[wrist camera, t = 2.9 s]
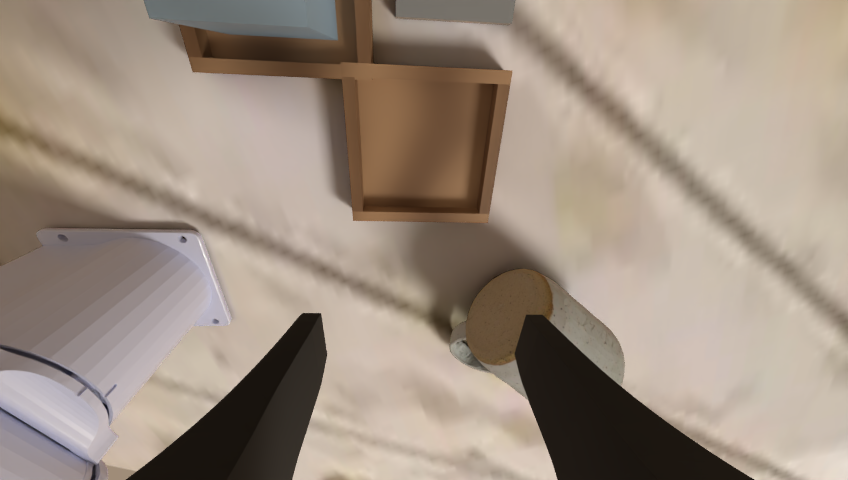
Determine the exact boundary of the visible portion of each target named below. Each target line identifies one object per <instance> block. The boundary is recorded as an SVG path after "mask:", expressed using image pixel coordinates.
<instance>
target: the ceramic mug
mask: <svg viewBox="0 0 848 480" xmlns="http://www.w3.org/2000/svg"><path fill="white" fill-rule="evenodd" d="M526 315H543V316H545V317H546V318H547V319H548V320H549V321H550V322H551V323H552V324H553V325H554V326H555V327H556V328H557V329H558V330H559V331H560V332H561V333H563V334H564V335H565V336H566V337H567V338H568V339H569V340H570V341H571V342H572V343H573V344H574V345H575V346H576V347H577V348H578V349H579V350H580V351H581V352H582V353H584V354H585V355H586V356H587V357H588V358H589V359H590V360H591V361H592V362H593V363H594V364H596V365H597V366H598V367H599V368H600V369H601V370H602V371H603V372H605V373H606V374H607V375H608V376H609V377H610V378H612V379H613V380H614V381H615V382H616V383H617V384H619V385H620V386H621V385H622V382H623V378H624V369H625V362H624V355H623V352H622V348H621V346H620V343H619V341H618V340H617V338H616V337H615V335H614V334H613V333H612V331H611V330H610V329H609V328H608V327H607V326H606V325H604V324H603V323H602V322H601V321H600V320H598V319H597V318H596V317H595V316H594V315H593V314H591V313H590V312H589V311H588V310H587V309H586V308H585V307H584V306H582V305H581V304H580V303H579V302H577V301H576V300H575V299H574V298H573V297H571V296H570V295H569V294H568V293H567V292H566V291H565V290H564V289H563V288H561V287H560V286H559V285H558V284H557V283H556V282H554V281H553V280H551V279H550V278H548V277H546V276H544V275H542V274H540V273H538V272H536V271H533V270H530V269H516V270H511V271H508V272H505V273H503V274H501V275H499V276H497V277H496V278H494V279H493V280H491V281H490V282H489V283H488V284H487V285H486V286H485V287H484V288H483V289H482V290H481V291H480V292H479V293H478V295H477V296H476V298H475V300H474V301H473V303H472V305H471V308H470V310H469V312H468V317H467V321H465V322H462V323H460V324H459V325H457V326H456V327H455V328H454V329H453V331H452V334H451V338H450V346H449V347H450V352H451V353H452V355H453V356H454V357H455V358H456V359H457V360H459V361H460V362H461V363H463V364H465V365H467V366H469V367H471V368H474V369H476V370H479V371H483V372H487V373H492V374H494V375H495V376H496V377H498V378H499V379H501V380H502V381H504V382H505V383H507V384H508V385H510V386H511V387H512V388H514V389H515V390H516V391H517V392H518V393H520V394H521V395H522V396H524V397H525V398H526V399H528V398H527V395H526V392H525V390H524V387H523V384H522V382H521V378H520V374H519V371H518V367H517V363H516V358H515V354H514V353H515V350H516V347H517V343H518V340H519V337H520V333H521V330H522V327H523V323H524V320H525V317H526ZM462 340H467V344H468V346H469V347H468V346H467V345H466V344H465V343H463V342H462Z"/></svg>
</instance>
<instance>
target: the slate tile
mask: <svg viewBox="0 0 848 480" xmlns="http://www.w3.org/2000/svg"><path fill="white" fill-rule="evenodd" d="M514 6H515V0H396V18H398V19H414V20H431V21H447V22H464V23H480V24H497V25H510V24H512V19H513V13H514Z"/></svg>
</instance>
